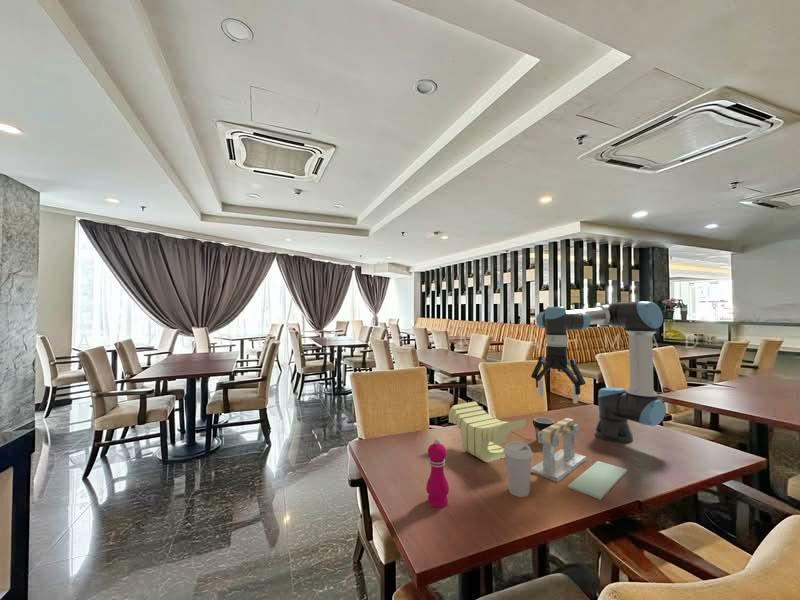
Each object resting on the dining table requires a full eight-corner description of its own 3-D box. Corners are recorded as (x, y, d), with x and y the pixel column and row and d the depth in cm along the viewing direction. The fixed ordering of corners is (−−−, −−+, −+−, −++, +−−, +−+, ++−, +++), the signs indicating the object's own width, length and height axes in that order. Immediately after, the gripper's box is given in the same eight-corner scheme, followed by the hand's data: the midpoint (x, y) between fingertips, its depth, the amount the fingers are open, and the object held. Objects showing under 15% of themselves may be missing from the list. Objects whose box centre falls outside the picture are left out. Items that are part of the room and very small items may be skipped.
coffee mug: (556, 446, 149) (556, 424, 149) (536, 445, 151) (535, 423, 151) (550, 437, 160) (549, 416, 161) (531, 435, 162) (531, 415, 162)
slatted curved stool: (449, 445, 152) (448, 406, 152) (476, 438, 159) (475, 401, 160) (497, 473, 125) (496, 425, 126) (526, 463, 133) (525, 418, 133)
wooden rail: (566, 427, 139) (566, 417, 139) (574, 429, 137) (573, 419, 137) (541, 441, 125) (541, 430, 125) (549, 443, 122) (549, 432, 123)
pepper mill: (424, 496, 110) (424, 435, 110) (446, 495, 110) (445, 434, 111) (428, 509, 102) (427, 444, 103) (451, 508, 103) (450, 442, 104)
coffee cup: (518, 502, 106) (517, 454, 106) (498, 488, 115) (497, 443, 115) (540, 495, 110) (539, 449, 110) (519, 482, 118) (518, 439, 119)
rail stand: (561, 452, 143) (560, 418, 143) (586, 460, 135) (585, 424, 136) (531, 472, 126) (530, 433, 126) (557, 482, 118) (556, 440, 119)
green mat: (597, 462, 133) (597, 460, 133) (627, 471, 125) (627, 469, 125) (568, 487, 114) (568, 485, 114) (600, 499, 107) (600, 497, 107)
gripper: (522, 344, 139) (523, 395, 138) (586, 348, 120) (587, 407, 119) (531, 342, 144) (532, 392, 143) (594, 347, 125) (595, 404, 124)
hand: (557, 399), depth 131 cm, fingers open, 13 cm apart
